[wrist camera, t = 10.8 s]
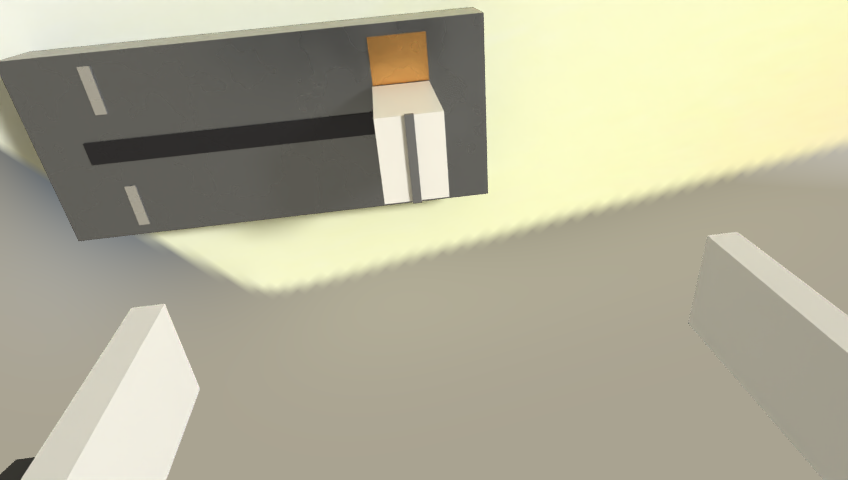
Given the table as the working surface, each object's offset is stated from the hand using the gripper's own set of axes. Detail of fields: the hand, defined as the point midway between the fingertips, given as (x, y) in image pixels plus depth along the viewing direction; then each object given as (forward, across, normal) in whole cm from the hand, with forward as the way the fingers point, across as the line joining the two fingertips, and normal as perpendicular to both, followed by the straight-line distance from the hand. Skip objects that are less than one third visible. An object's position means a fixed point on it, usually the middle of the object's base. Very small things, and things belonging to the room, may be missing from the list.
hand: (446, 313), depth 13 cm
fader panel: (+21, -7, 0) cm, 22 cm away
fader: (+17, 0, 0) cm, 17 cm away
